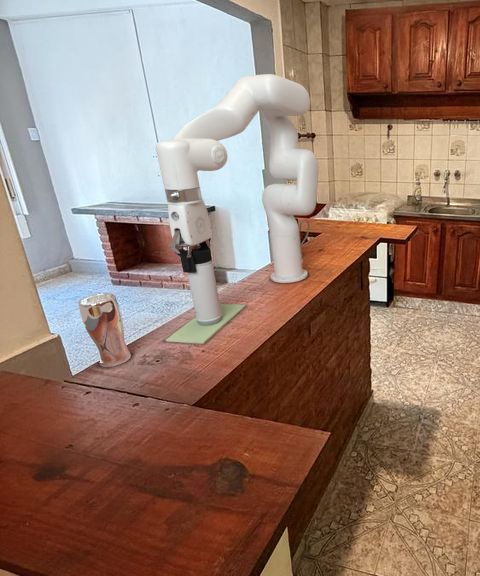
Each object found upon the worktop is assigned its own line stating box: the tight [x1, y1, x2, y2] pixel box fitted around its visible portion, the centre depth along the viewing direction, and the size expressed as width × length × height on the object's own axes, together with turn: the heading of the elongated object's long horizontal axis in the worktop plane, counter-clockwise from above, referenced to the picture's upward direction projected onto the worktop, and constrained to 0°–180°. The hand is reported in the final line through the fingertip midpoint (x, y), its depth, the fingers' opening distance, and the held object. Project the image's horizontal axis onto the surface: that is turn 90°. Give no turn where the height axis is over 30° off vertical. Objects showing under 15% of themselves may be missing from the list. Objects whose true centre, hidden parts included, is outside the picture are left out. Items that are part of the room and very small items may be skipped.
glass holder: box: [295, 217, 310, 258], centre depth 160 cm, size 9×14×15 cm, turn 139°
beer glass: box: [77, 292, 132, 368], centre depth 87 cm, size 7×7×15 cm
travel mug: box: [184, 248, 222, 325], centre depth 102 cm, size 6×7×20 cm
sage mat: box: [165, 303, 247, 345], centre depth 106 cm, size 22×10×1 cm, turn 172°
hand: (198, 266), depth 100 cm, fingers closed on travel mug, 6 cm apart
